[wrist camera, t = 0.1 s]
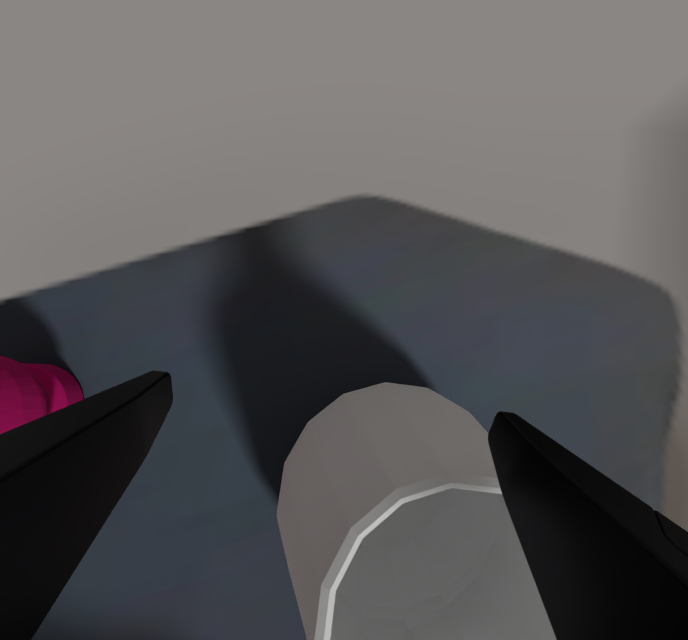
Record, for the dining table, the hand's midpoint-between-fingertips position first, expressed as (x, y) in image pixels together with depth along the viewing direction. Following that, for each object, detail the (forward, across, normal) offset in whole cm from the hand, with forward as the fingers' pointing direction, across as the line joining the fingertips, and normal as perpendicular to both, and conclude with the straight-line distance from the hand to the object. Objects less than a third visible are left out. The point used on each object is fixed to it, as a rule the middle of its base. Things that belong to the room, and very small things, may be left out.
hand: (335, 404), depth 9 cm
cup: (+10, -5, +13) cm, 17 cm away
